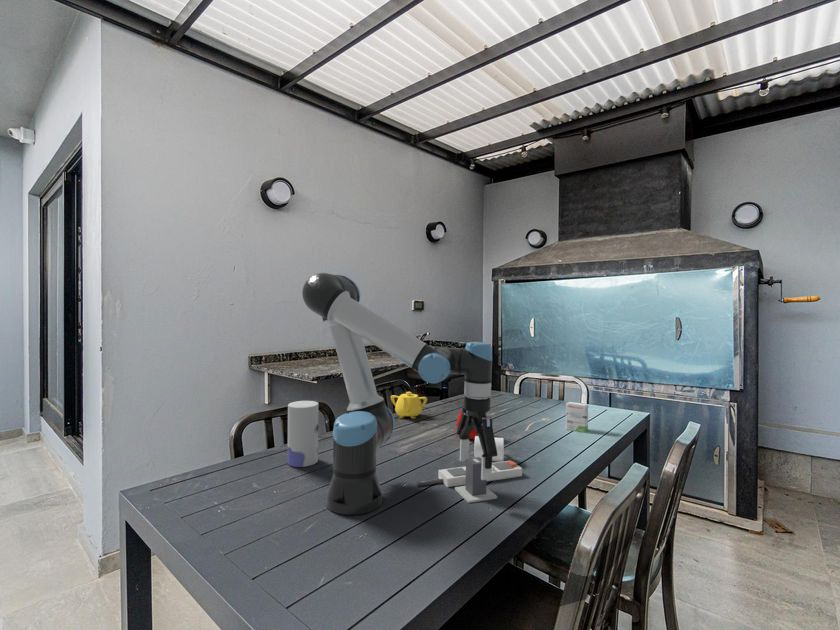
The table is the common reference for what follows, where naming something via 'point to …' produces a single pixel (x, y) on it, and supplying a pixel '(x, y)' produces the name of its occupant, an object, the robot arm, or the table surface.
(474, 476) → the block
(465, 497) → the felt pad
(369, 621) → the table surface
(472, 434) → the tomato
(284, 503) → the table surface
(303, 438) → the container
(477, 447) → the mug
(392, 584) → the table surface
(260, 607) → the table surface
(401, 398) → the yellow handled pot
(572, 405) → the ink box
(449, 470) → the power strip
